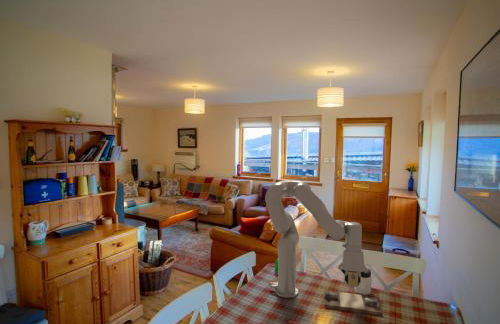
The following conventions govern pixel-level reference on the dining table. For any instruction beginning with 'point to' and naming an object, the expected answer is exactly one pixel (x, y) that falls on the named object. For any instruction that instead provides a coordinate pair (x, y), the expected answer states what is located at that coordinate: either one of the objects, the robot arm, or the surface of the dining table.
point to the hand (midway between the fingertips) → (352, 282)
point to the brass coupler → (352, 278)
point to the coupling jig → (352, 302)
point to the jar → (364, 284)
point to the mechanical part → (276, 265)
